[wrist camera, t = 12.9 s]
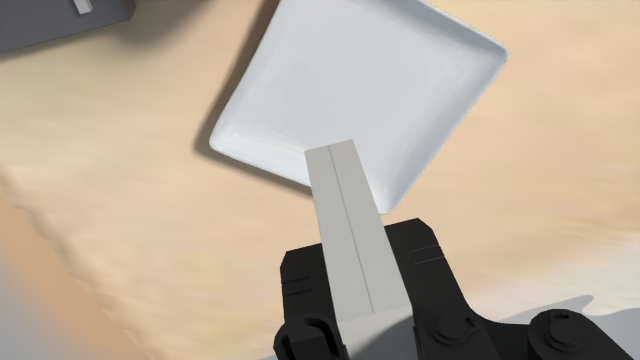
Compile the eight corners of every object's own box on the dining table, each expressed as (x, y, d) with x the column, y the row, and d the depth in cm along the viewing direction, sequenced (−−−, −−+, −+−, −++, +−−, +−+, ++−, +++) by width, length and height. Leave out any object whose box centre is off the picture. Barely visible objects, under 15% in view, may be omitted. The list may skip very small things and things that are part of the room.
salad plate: (382, 202, 59) (389, 221, 56) (205, 132, 51) (203, 150, 48) (502, 39, 50) (518, 52, 47) (307, -78, 42) (312, -70, 39)
